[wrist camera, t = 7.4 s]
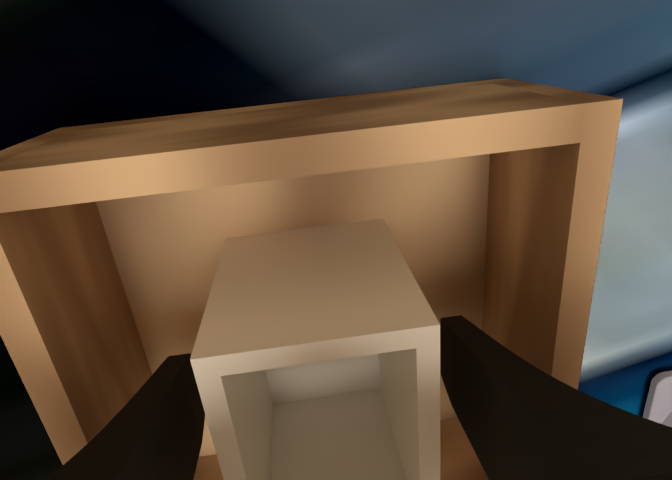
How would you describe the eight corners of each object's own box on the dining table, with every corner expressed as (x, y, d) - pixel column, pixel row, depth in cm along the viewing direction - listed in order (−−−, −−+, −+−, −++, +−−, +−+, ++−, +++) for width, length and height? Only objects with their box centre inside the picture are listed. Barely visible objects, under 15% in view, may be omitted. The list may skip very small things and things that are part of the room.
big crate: (504, 77, 14) (623, 98, 9) (487, 408, 20) (555, 532, 15) (58, 127, 14) (-74, 180, 9) (170, 456, 19) (129, 604, 14)
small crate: (382, 218, 15) (440, 324, 9) (392, 387, 18) (440, 545, 12) (226, 238, 14) (189, 359, 9) (261, 406, 17) (251, 576, 12)
